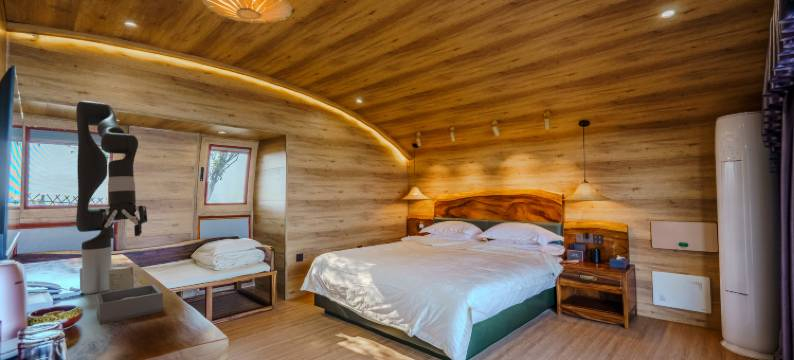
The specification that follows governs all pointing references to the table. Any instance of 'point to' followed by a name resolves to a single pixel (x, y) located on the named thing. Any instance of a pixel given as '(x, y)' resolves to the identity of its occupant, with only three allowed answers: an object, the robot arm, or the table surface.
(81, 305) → the table surface
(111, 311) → the walled box
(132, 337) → the table surface
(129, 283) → the skincare box
